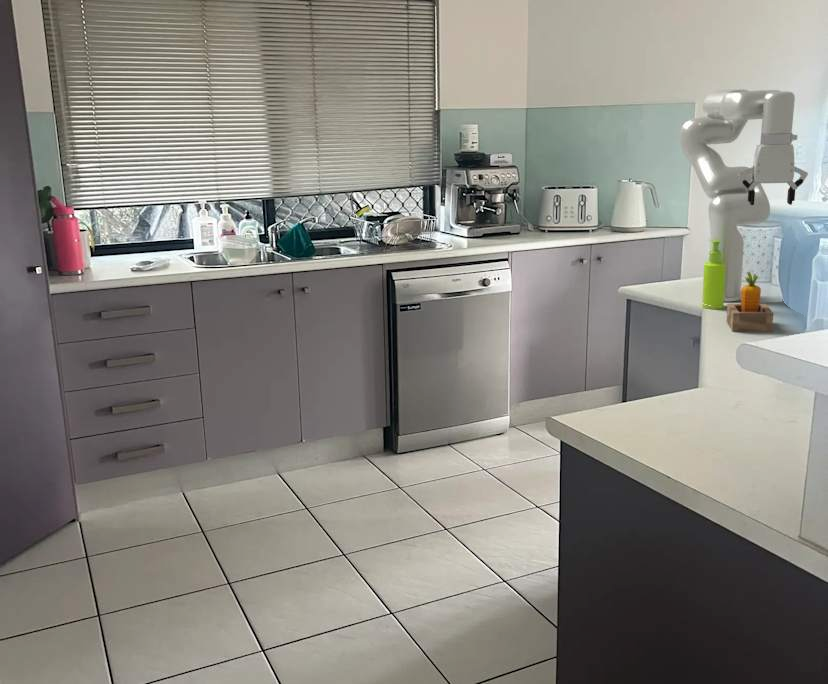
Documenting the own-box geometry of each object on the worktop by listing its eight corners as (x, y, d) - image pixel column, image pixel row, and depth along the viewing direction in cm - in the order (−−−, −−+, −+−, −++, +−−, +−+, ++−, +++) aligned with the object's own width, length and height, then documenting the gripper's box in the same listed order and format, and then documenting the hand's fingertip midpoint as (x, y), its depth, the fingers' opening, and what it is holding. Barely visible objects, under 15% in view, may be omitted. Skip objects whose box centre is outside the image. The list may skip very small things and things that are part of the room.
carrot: (759, 328, 225) (763, 274, 220) (740, 328, 226) (744, 274, 221) (756, 323, 229) (760, 270, 225) (737, 323, 230) (740, 270, 226)
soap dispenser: (719, 303, 252) (722, 237, 246) (725, 308, 246) (729, 241, 240) (699, 303, 253) (702, 238, 247) (704, 309, 246) (707, 242, 241)
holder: (726, 321, 233) (727, 304, 232) (764, 321, 231) (765, 303, 230) (732, 331, 224) (733, 313, 222) (772, 331, 222) (773, 313, 220)
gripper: (807, 137, 224) (801, 201, 229) (739, 139, 228) (735, 202, 233) (814, 140, 217) (807, 206, 222) (743, 142, 221) (738, 206, 226)
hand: (770, 204), depth 228 cm, fingers open, 9 cm apart
